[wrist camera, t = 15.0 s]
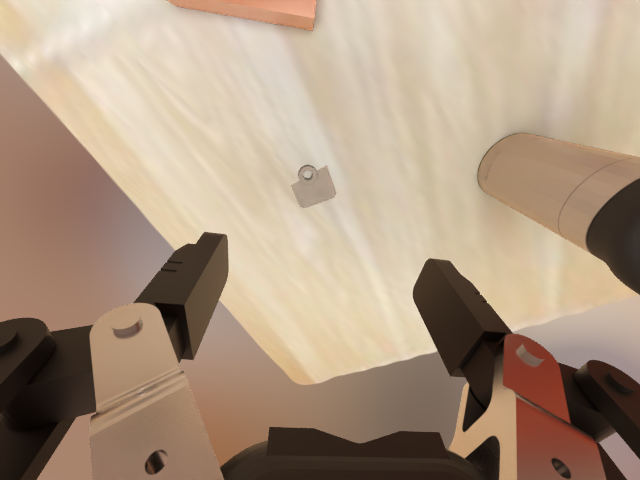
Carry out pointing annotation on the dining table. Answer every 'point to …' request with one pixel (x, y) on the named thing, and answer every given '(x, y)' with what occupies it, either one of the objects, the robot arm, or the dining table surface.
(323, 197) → the mounting bracket
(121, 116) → the dining table surface
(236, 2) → the orange open tray
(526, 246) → the dining table surface
